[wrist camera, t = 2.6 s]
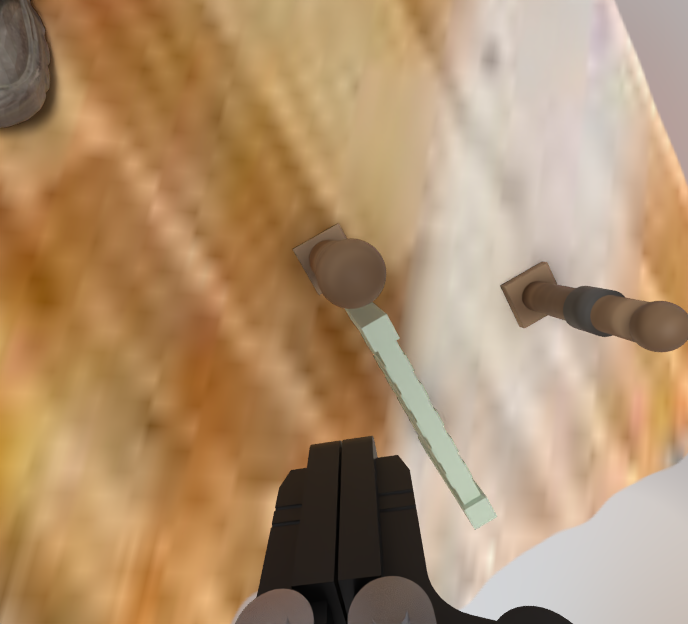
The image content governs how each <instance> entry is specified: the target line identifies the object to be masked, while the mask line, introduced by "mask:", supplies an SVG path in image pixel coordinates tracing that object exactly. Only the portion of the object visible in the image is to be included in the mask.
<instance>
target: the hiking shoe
mask: <svg viewBox="0 0 688 624" xmlns="http://www.w3.org/2000/svg"><path fill="white" fill-rule="evenodd" d="M49 64H50V53H49V47H48V44H47V42H46V40H45V29H44V26H43V24H42V21H41V19H40V17H39V15H38V14H37V13H36V11H35V10H34V9H33V7H32V6H31V4H30V0H0V128H3V127H9V126H12V125H15V124H18V123H21V122H24V121H26V120H28V119H29V118H31V117H32V116H33V115H34V114H36V113H37V112H38V111H39V110H40V109H41V107H42V105H43V103H44V101H45V98H46V92H47V91H48V89H49V85H50V74H49V69H48V65H49Z"/></svg>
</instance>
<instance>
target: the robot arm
mask: <svg viewBox="0 0 688 624" xmlns="http://www.w3.org/2000/svg"><path fill="white" fill-rule="evenodd" d="M275 508H276V511H274V516H273V521H272V528H271V530H270V535H269V540H268V545H267V550H266V555H265V560H264V565H263V569H262V574H261V579H260V584H259V589H258V593H257V597H256V598H255V599H254V600H253V601H252V602H251V603H249V604H248V606H247V607H246V608H245V609H244V610H243V611H242V613H241V614H240V615H239V617H238V619H237V621H236V623H235V624H573V623H571V622H570V621H569V620H567V619H566V618H564V617H563V616H561V615H559V614H557V613H555V612H553V611H551V610H548V609H545V608H542V607H536V606H522V607H517V608H514V609H511V610H509V611H508V612H506V613H504V614H503V615H502V616H501V617H500V618H499V619H498V620H497V621H495V620H490V619H486V618H482V617H478V616H474V615H470V614H467V613H463V612H461V611H459V610H457V609H455V608H453V607H452V606H450V605H449V604H447V603H446V602H445V601H444V600H443V599H442V598H441V597H440V596H439V595H438V594H437V593H436V591H435V590H434V588H433V587H432V585H431V582H430V580H429V578H428V574H427V569H426V563H425V557H424V551H423V545H422V539H421V534H420V528H419V522H418V516H417V510H416V504H415V498H414V492H413V487H412V481H411V475H410V470H409V468H408V467H407V466H406V465H405V463H404V462H403V461H402V460H401V458H400V457H399V456H398V455H395V456H387V457H380V458H378V457H377V452H376V447H375V442H374V438H373V436H368V437H361V438H354V439H347V440H343V441H334V442H327V443H320V444H313V445H311V446H310V450H309V457H308V464H307V468H303V469H296V470H291V471H290V473H289V474H288V476H287V477H286V479H285V480H284V482H283V483H282V484H281V486H280V487H279V491H278V496H277V501H276V506H275Z"/></svg>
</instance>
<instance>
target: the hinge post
mask: <svg viewBox="0 0 688 624" xmlns="http://www.w3.org/2000/svg"><path fill="white" fill-rule="evenodd" d="M293 251H294V253H295V255H296V256H297V258H298V260H299V261H300V263H301V265H302V267H303V268H304V270H305V272H306V274H307V275H308V277H309V279H310V280H311V282H312V284H313V286H314V287H315V289H316V291H317V293H318V294H319V295H320V294H323V295H324V296H325V297H326V299H328V300H329V301H330V302H331V303H333V304H334V305H336V306H339V307H342V308H346V309H356V308H361V307H364V306H366V305H368V304H370V303H371V302H373V301H374V300H375V299H376V298H377V297H378V296H379V294H380V293H381V291H382V289H383V287H384V285H385V281H386V267H385V263H384V260H383V258H382V256H381V255H380V253H379V252H378V251H377V249H376V248H374V247H373V246H372V245H370V244H369V243H367V242H365V241H362V240H359V239H347V238H346V236H345V234H344V232H343V230H342V228H341V227H340V225H339V223H338V224H336V225H334V226H332V227H331V228H329V229H327V230H325V231H324V232H322V233H320V234H318V235H317V236H315V237H313V238H311V239H310V240H308V241H306V242H304V243H303V244H301V245H299V246H297V247H296V248H294V249H293Z"/></svg>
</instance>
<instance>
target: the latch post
mask: <svg viewBox="0 0 688 624" xmlns="http://www.w3.org/2000/svg"><path fill="white" fill-rule="evenodd" d="M501 288H502V290H503V292H504V294H505V296H506V299H507V301H508V303H509V305H510V307H511V309H512V311H513V313H514V315H515V318H516V320H517V322H518V324H519V326H520V327H522V328H526V327H528V326H530V325H531V324H533V323H535V322H537V321H538V320H540V319H542V318H543V317H545V316H547V315H550V316H553V317H556V318H559V319H562V320H566V322H567V323H568V324H569V325H570V326H572V327H574V328H577V329H580V330H583V331H586V332H589V333H592V334H595V335H598V336H602V337H608V336H612V335H614V336H617V337H620V338H623V339H627V340H630V341H633V342H636V343H637V344H638V345H640V346H641V347H643V348H645V349H647V350H650V351H654V352H668V351H672V350H675V349H677V348H679V347H681V346H682V345H683V344H684V343H685V342H686V341H687V340H688V314H687V313H686V312H685V311H684V310H683V309H682V308H681V307H679V306H678V305H676V304H673V303H670V302H666V301H654V302H646V301H640V300H635V299H630V298H625V296H624V295H622V294H621V293H619V292H617V291H613V290H608V289H602V288H596V287H590V286H581V287H578V288H572V287H566V286H561V285H557V283H556V281H555V279H554V276H553V274H552V272H551V270H550V267H549V265H548V263H547V262H541V263H539V264H537V265H536V266H534V267H532V268H530V269H529V270H527V271H525V272H523V273H522V274H520V275H518V276H516V277H515V278H513V279H511V280H510V281H508V282H506V283H504V284H503V285H501Z"/></svg>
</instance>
